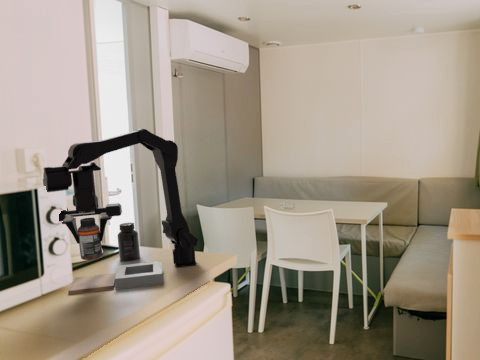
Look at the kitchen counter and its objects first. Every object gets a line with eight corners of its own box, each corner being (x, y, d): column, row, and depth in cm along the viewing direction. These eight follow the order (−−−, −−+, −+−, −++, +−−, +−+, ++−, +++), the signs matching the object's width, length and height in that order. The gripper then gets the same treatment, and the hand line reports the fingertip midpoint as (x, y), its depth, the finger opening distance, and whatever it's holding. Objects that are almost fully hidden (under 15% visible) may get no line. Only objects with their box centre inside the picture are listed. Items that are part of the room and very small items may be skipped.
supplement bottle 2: (143, 255, 164) (140, 221, 163) (133, 261, 158) (130, 226, 157) (126, 255, 167) (123, 221, 165) (115, 260, 160) (112, 226, 159)
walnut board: (116, 276, 143) (116, 272, 143) (113, 289, 132) (113, 285, 131) (75, 280, 141) (75, 277, 141) (68, 294, 129) (68, 290, 129)
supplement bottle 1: (86, 255, 139) (82, 217, 137) (106, 254, 138) (102, 216, 137) (76, 261, 133) (72, 221, 132) (97, 260, 132) (92, 220, 131)
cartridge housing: (162, 270, 146) (161, 261, 146) (163, 283, 133) (162, 273, 133) (118, 275, 144) (117, 265, 143) (115, 289, 131) (114, 278, 131)
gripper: (120, 181, 143) (125, 232, 144) (55, 187, 139) (61, 239, 141) (117, 186, 132) (123, 241, 134) (47, 192, 128) (53, 248, 130)
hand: (90, 242), depth 135 cm, fingers closed on supplement bottle 1, 6 cm apart
